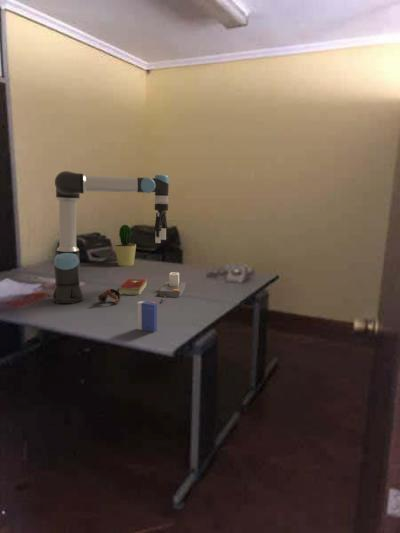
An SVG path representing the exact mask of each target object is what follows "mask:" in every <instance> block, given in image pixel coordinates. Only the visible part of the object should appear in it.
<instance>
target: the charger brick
mask: <svg viewBox="0 0 400 533" xmlns="http://www.w3.org/2000/svg"><path fill="white" fill-rule="evenodd" d="M168 282H169V286H179V282H180V272H173V271H172V272H170V273H169V276H168Z"/></svg>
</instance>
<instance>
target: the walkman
mask: <svg viewBox="0 0 400 533" xmlns="http://www.w3.org/2000/svg"><path fill="white" fill-rule="evenodd" d="M136 313H137V330H139V331H140V330H141V331H146V332H152V333H155V332H156V331H158V302H155V301H151V302H150V301H145V300H144V301H143V300H140V301H138V302H137V312H136Z"/></svg>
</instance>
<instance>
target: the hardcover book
mask: <svg viewBox="0 0 400 533" xmlns="http://www.w3.org/2000/svg"><path fill="white" fill-rule="evenodd" d="M147 281H148V278H147V279H146V278H144V279H142V278H141V279H140V278H128V279H126V280H125V281H124V283H122V284H121V286H119V287H118V289H117V291H118V292H119V293H120V294H121V295H133V296H134V295H135V296H138V295H141V293H142V292H143V291H144V289H145V288H146V287H147Z"/></svg>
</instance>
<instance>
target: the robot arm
mask: <svg viewBox="0 0 400 533" xmlns="http://www.w3.org/2000/svg"><path fill="white" fill-rule="evenodd" d="M54 186H55V197H56V199H57V200H58V202H59V203H58V204H59V205H58V208H59V209H58V211H59V215H58V216H59V217H58V218H59V222H58V225H59V229H58V230H59V232H58V233H59V234H58V235H59V236H58V237H59V240H58V241H59V245H58V247H57V248H56V255H55V256H54V259H53V265H54V279H55V288H54V291H53V295H52V302H53V301H55V302H58V303H72V304H76V303H75V302H77V303H80V302H82V301H83V300H84V298H85V295H84V292H83V290H82V288H81V284H80V283H81V282H80V263H81V261H80V249H79V248H78V246H77V206H78V205H77V203H78V201H79V200H80V196H81V195H80V194H85V193H87V192H89V193H91V192H97V193H98V192H99V193H100V192H101V193H103V192H104V193H105V192H106V193H139V194H140V193H145V194H151V193H154V211H157V212H155V223H154V228H153V231H154V232H155V234H154V235H155V238H154V240H155V244H161V241H163V240H164V241H166V240H167V229H168V223H167V222H168V221H167V211H169V204H168V203H169V200H170V197H169V187H170V183H169V176H168V175H167V174H155V176H154V177H152V178H151V177H138V176H137V177H136V176H135V177H132V176H131V177H130V176H104V175H103V176H102V175H101V176H100V175H85V173H79V172H78V173H76V172H74V171H73V172H72V171H67V170H64V171H61V172H59V173H58V174H57V175H56V176H55V178H54ZM79 301H80V302H79ZM55 302H54V303H55ZM58 303H57V304H58Z"/></svg>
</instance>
